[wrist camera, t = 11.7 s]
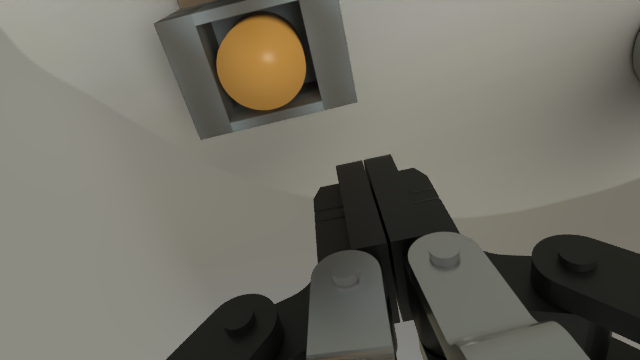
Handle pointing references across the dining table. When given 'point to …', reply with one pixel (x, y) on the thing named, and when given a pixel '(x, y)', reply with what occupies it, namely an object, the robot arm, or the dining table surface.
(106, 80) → the dining table surface
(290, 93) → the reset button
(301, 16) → the stand
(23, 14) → the dining table surface
